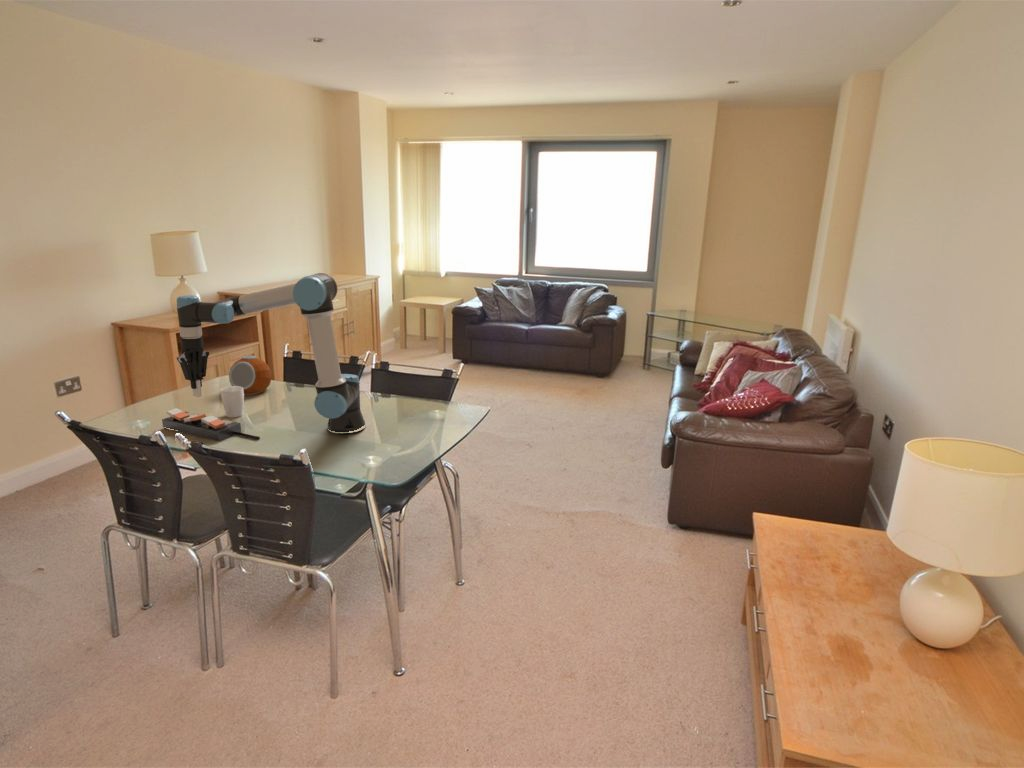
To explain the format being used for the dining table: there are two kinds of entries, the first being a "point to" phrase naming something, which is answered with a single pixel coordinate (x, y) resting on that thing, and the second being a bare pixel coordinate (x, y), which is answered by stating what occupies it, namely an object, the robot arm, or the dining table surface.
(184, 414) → the rocker
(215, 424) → the rocker
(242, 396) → the cup
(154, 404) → the dining table surface
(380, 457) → the dining table surface
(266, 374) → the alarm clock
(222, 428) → the power strip
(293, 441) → the dining table surface
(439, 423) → the dining table surface
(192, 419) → the rocker
